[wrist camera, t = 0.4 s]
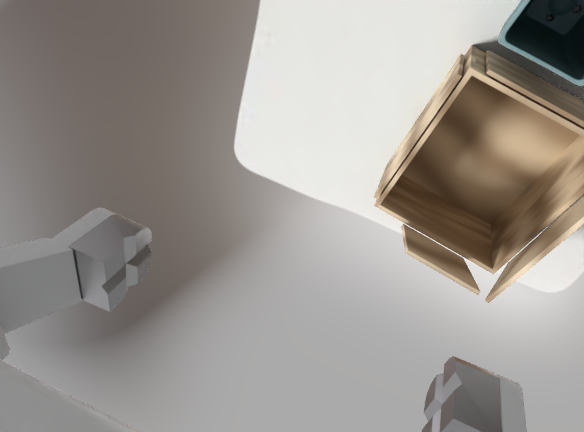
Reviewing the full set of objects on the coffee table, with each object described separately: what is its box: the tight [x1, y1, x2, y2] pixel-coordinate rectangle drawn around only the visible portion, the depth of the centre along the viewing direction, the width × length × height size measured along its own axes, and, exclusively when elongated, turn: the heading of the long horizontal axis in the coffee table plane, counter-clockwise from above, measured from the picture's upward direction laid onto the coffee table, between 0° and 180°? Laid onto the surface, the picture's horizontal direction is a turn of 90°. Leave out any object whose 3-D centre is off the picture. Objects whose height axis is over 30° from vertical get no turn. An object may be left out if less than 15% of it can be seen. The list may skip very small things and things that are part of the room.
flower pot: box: [498, 0, 584, 86], centre depth 37 cm, size 9×9×9 cm
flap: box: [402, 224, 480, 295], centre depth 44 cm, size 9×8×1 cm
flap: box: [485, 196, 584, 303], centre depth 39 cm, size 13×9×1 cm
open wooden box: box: [374, 45, 584, 274], centre depth 47 cm, size 19×17×10 cm
